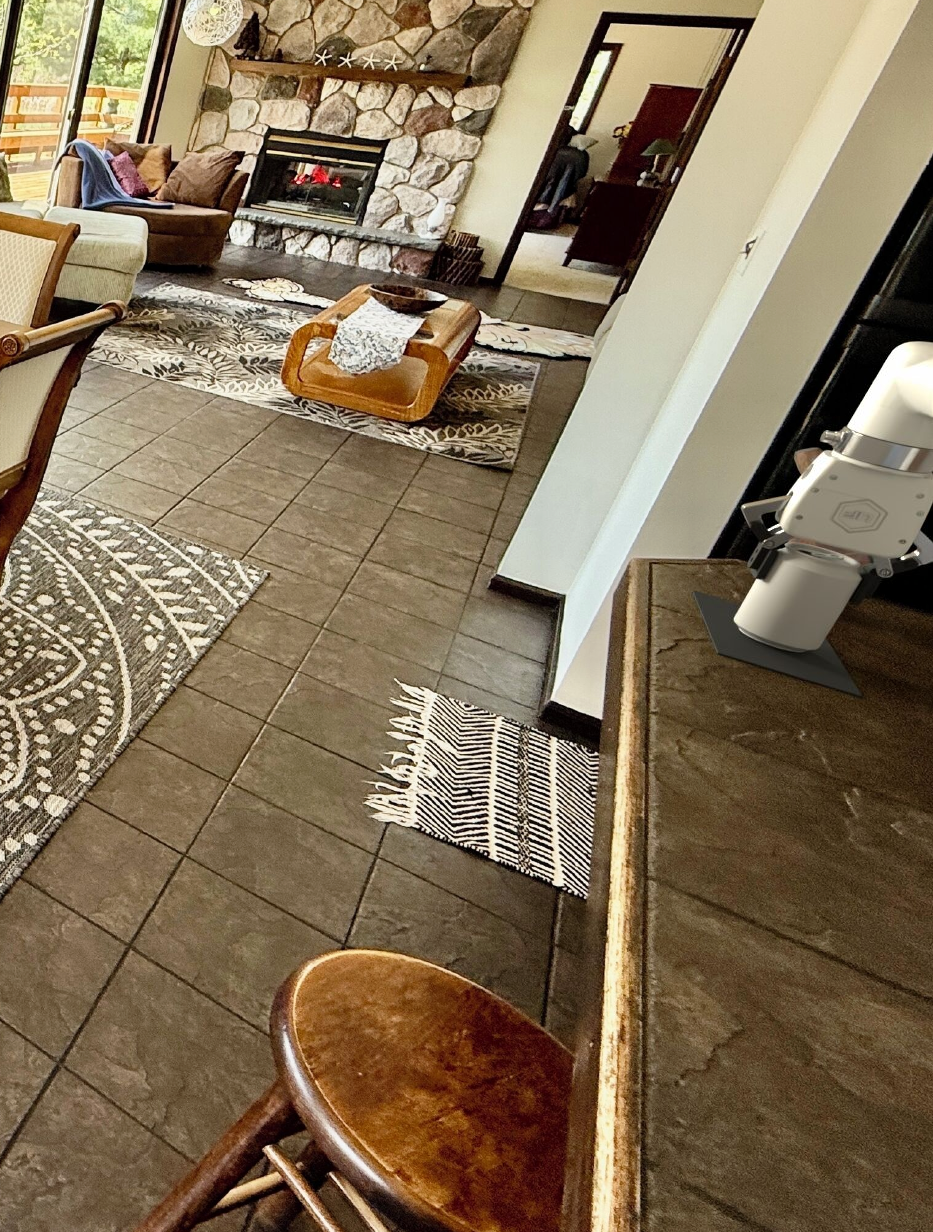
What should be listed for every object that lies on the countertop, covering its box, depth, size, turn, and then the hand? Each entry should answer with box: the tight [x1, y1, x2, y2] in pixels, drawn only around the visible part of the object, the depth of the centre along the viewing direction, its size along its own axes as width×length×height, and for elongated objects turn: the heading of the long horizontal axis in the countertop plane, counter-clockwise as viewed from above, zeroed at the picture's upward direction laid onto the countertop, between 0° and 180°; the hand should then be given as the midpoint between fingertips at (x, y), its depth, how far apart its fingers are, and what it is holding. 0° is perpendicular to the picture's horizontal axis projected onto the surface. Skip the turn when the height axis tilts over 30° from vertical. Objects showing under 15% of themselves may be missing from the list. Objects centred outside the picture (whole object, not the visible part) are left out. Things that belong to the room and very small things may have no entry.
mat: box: [691, 589, 863, 698], centre depth 113 cm, size 12×20×1 cm, turn 142°
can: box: [734, 542, 862, 652], centre depth 110 cm, size 8×8×12 cm
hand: (802, 586), depth 110 cm, fingers closed on can, 7 cm apart
